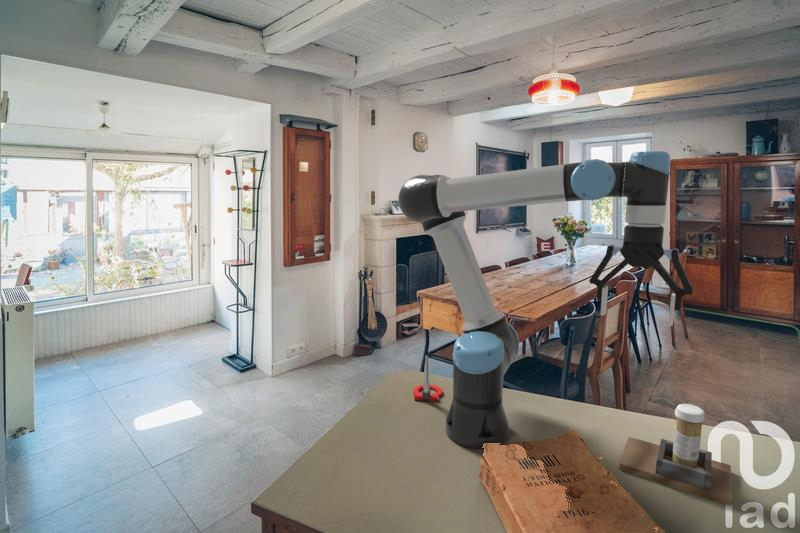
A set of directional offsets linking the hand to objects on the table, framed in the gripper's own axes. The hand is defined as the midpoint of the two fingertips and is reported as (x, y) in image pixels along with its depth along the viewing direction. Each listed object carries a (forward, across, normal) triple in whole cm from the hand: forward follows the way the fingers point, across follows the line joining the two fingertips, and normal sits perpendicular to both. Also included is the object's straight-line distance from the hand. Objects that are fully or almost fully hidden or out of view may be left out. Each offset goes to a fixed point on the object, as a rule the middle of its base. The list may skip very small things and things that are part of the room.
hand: (635, 319), depth 100 cm
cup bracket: (+29, -10, +9) cm, 32 cm away
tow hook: (+29, +50, +8) cm, 58 cm away
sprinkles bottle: (+27, -12, +10) cm, 32 cm away
